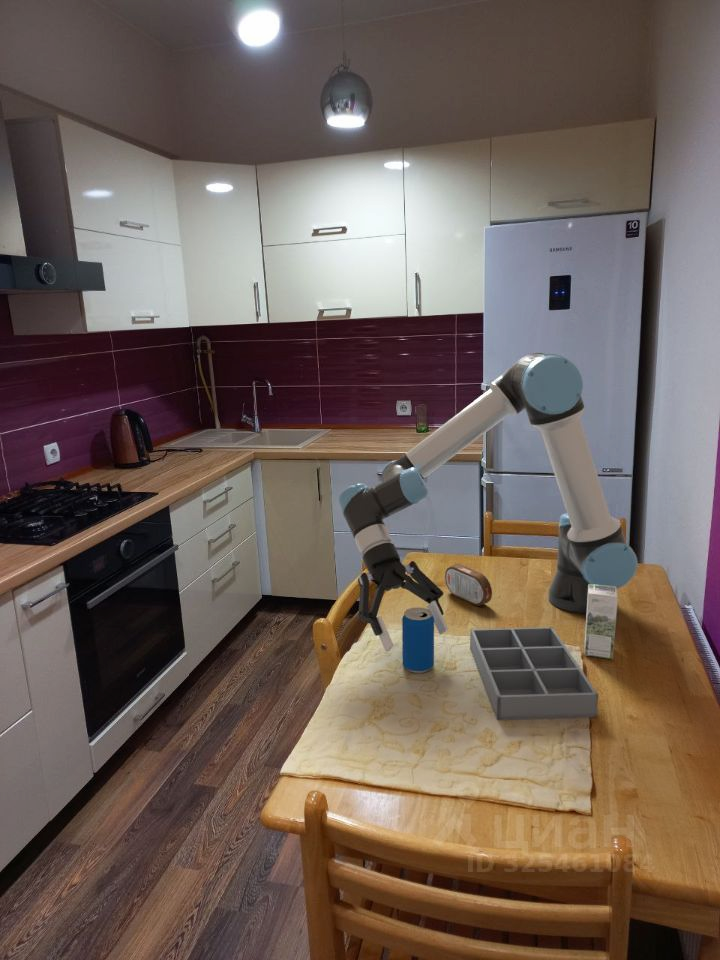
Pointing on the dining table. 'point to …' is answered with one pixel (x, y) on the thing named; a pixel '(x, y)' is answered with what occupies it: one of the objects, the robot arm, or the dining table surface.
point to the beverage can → (418, 639)
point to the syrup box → (600, 621)
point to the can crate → (531, 674)
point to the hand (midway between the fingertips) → (417, 640)
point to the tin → (468, 584)
